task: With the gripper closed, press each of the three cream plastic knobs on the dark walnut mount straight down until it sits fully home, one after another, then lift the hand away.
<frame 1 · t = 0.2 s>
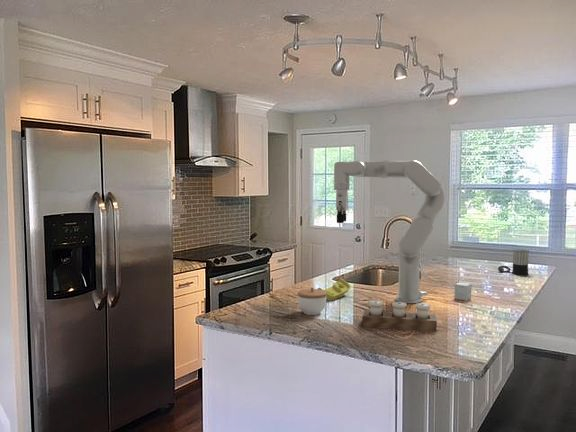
hand: (341, 222, 238), 37 cm above the worktop, tool pointing down, fingers open, 9 cm apart
knob 1: (422, 311, 190), point 6 cm above the worktop, slide at 0.0 cm
knob 2: (399, 309, 192), point 6 cm above the worktop, slide at 0.0 cm
mount: (398, 325, 193), on the worktop
knob 3: (376, 308, 194), point 6 cm above the worktop, slide at 0.0 cm
lidded bowl: (312, 313, 211), on the worktop
plastic component: (333, 297, 241), on the worktop
milk frother: (513, 273, 303), on the worktop
product box: (462, 299, 237), on the worktop
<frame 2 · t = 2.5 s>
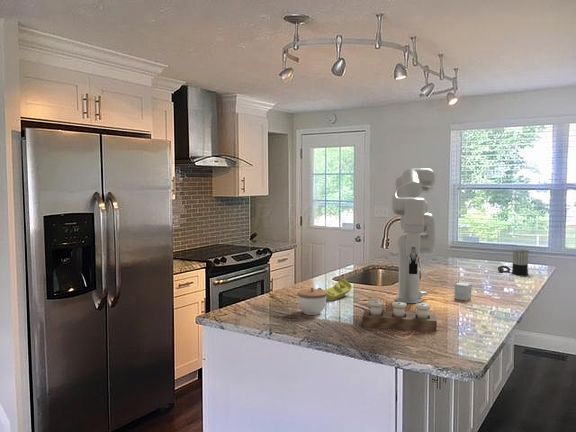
hand: (413, 272, 194), 21 cm above the worktop, tool pointing down, fingers open, 9 cm apart
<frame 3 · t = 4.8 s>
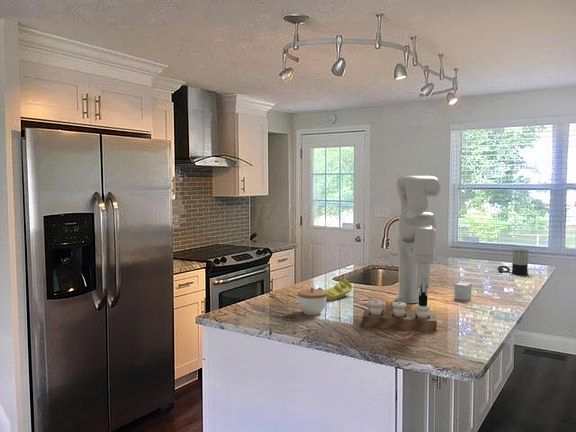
hand: (422, 305, 190), 9 cm above the worktop, tool pointing down, fingers closed
knob 1: (422, 311, 190), point 6 cm above the worktop, slide at -0.3 cm, touching gripper
everything else where it was.
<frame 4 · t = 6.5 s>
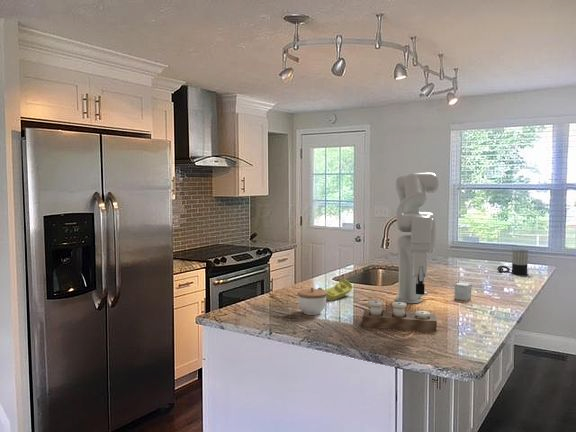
hand: (420, 293, 190), 13 cm above the worktop, tool pointing down, fingers closed
knob 1: (422, 318, 190), point 3 cm above the worktop, slide at -3.1 cm
everything else where it was.
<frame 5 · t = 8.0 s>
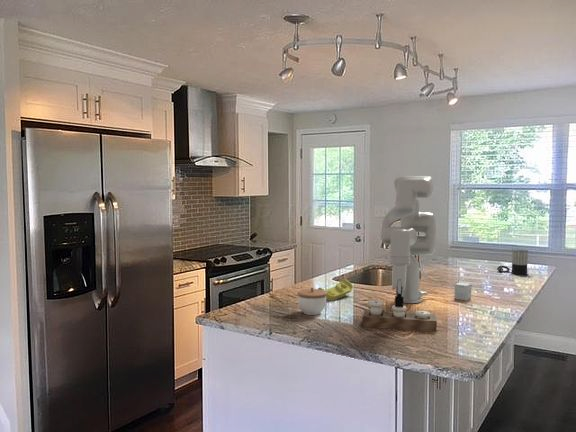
hand: (399, 306, 192), 8 cm above the worktop, tool pointing down, fingers closed
knob 2: (399, 312, 192), point 5 cm above the worktop, slide at -1.2 cm, touching gripper
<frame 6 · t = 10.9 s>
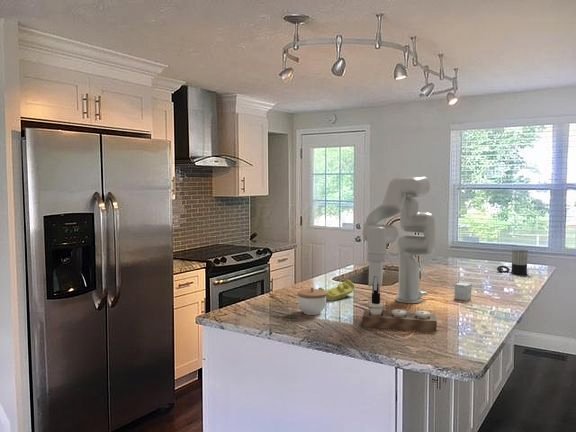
hand: (375, 303, 194), 8 cm above the worktop, tool pointing down, fingers closed
knob 2: (399, 317, 192), point 3 cm above the worktop, slide at -3.1 cm
knob 3: (376, 309, 194), point 6 cm above the worktop, slide at -0.4 cm, touching gripper
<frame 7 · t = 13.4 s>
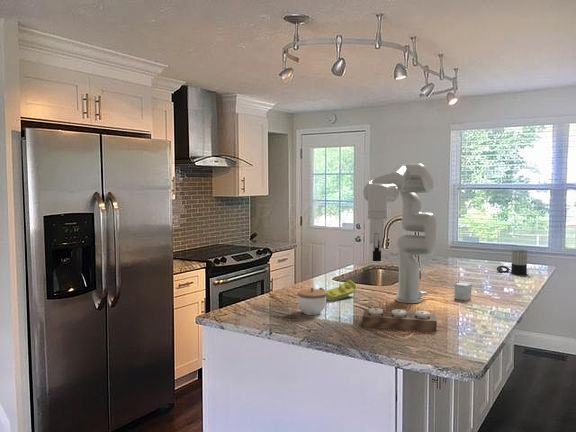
hand: (376, 260, 194), 25 cm above the worktop, tool pointing down, fingers closed
knob 3: (375, 316, 194), point 3 cm above the worktop, slide at -3.1 cm
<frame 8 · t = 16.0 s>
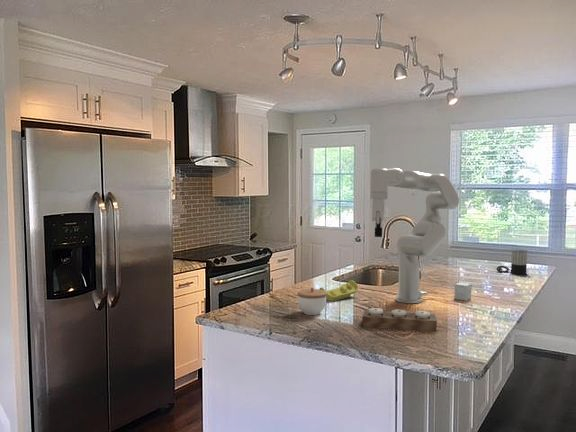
hand: (378, 236, 219), 32 cm above the worktop, tool pointing down, fingers closed
at the end: knob 1 slide at -3.1 cm; knob 2 slide at -3.1 cm; knob 3 slide at -3.1 cm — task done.
